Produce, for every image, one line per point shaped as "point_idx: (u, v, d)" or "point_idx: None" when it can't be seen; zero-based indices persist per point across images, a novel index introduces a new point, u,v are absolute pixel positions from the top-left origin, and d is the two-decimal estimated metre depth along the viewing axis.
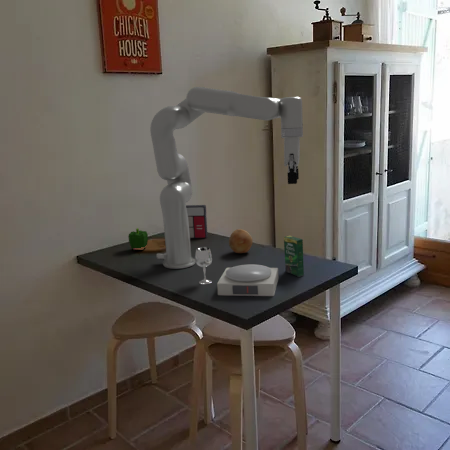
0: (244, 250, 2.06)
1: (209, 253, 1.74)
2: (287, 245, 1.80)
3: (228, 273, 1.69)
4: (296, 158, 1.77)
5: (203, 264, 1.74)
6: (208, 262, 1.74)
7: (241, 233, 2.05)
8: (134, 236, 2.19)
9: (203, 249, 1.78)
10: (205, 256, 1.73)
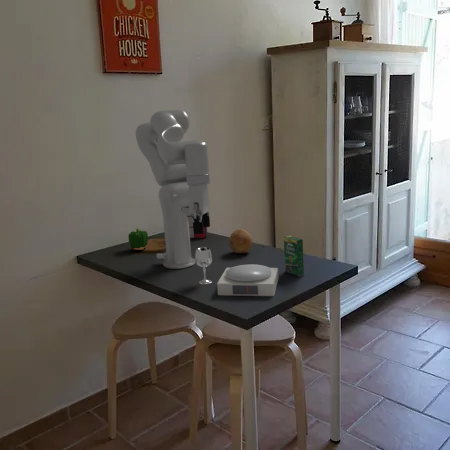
0: (244, 250, 2.06)
1: (209, 253, 1.74)
2: (287, 245, 1.80)
3: (228, 273, 1.69)
4: (201, 207, 1.67)
5: (203, 264, 1.74)
6: (208, 262, 1.74)
7: (241, 233, 2.05)
8: (134, 236, 2.19)
9: (203, 249, 1.78)
10: (205, 256, 1.73)
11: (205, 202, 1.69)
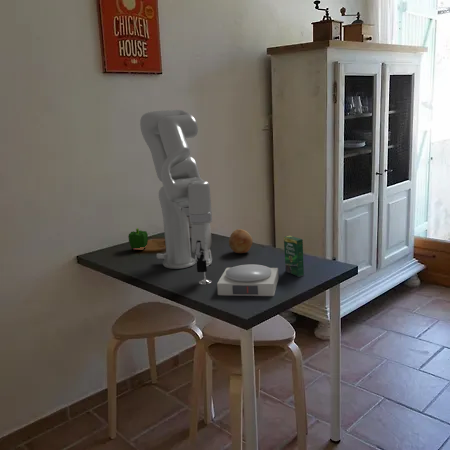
0: (244, 250, 2.06)
1: (209, 253, 1.74)
2: (287, 245, 1.80)
3: (228, 273, 1.69)
4: (203, 245, 1.70)
5: None
6: (208, 262, 1.74)
7: (241, 233, 2.05)
8: (134, 236, 2.19)
9: None
10: (205, 256, 1.73)
11: (207, 240, 1.72)
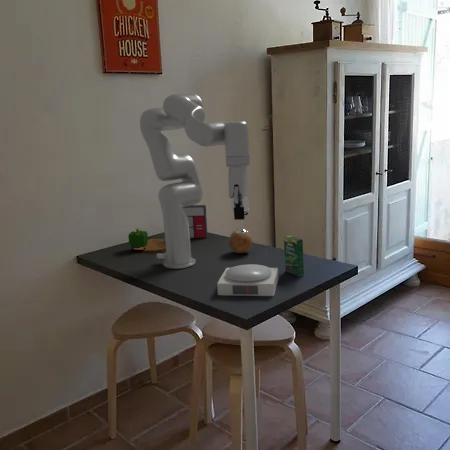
0: (244, 250, 2.06)
1: (247, 199, 1.64)
2: (287, 245, 1.80)
3: (228, 273, 1.69)
4: (241, 189, 1.59)
5: None
6: (246, 209, 1.63)
7: (241, 233, 2.05)
8: (134, 236, 2.19)
9: (240, 196, 1.67)
10: (243, 202, 1.63)
11: (245, 184, 1.62)
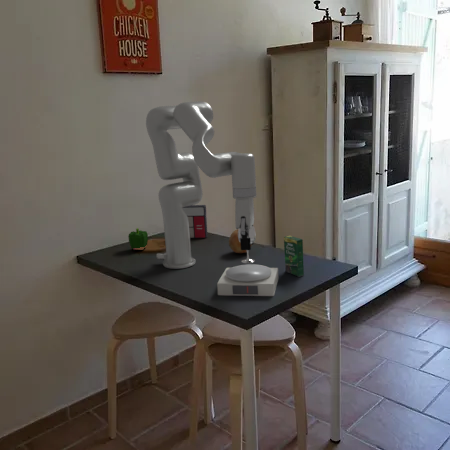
0: (244, 250, 2.06)
1: (253, 230, 1.65)
2: (287, 245, 1.80)
3: (228, 273, 1.69)
4: (248, 221, 1.61)
5: None
6: (252, 239, 1.65)
7: None
8: (134, 236, 2.19)
9: None
10: (249, 233, 1.64)
11: (252, 216, 1.63)
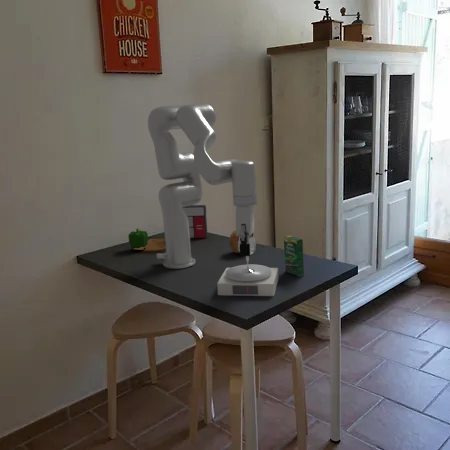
0: None
1: (253, 241, 1.66)
2: (287, 245, 1.80)
3: (228, 273, 1.69)
4: (248, 229, 1.61)
5: None
6: (252, 250, 1.66)
7: None
8: (134, 236, 2.19)
9: None
10: (249, 243, 1.65)
11: (252, 223, 1.64)
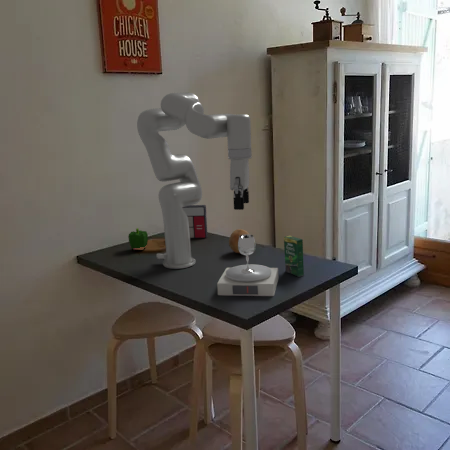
0: None
1: (253, 240, 1.66)
2: (287, 245, 1.80)
3: (228, 273, 1.69)
4: (243, 182, 1.61)
5: (247, 252, 1.66)
6: (252, 250, 1.66)
7: (241, 233, 2.05)
8: (134, 236, 2.19)
9: (246, 237, 1.70)
10: (249, 243, 1.65)
11: (246, 177, 1.64)
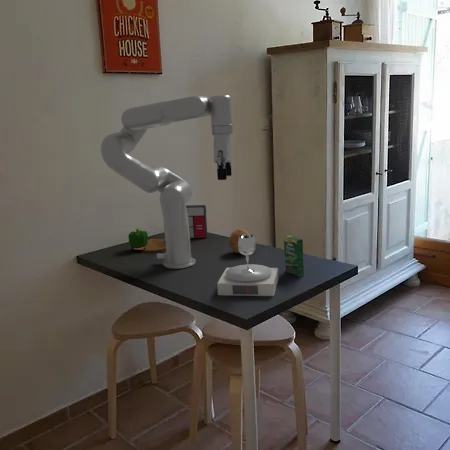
0: None
1: (253, 240, 1.66)
2: (287, 245, 1.80)
3: (228, 273, 1.69)
4: (225, 155, 1.82)
5: (247, 252, 1.66)
6: (252, 250, 1.66)
7: (241, 233, 2.05)
8: (134, 236, 2.19)
9: (246, 236, 1.70)
10: (249, 243, 1.65)
11: (228, 151, 1.84)
